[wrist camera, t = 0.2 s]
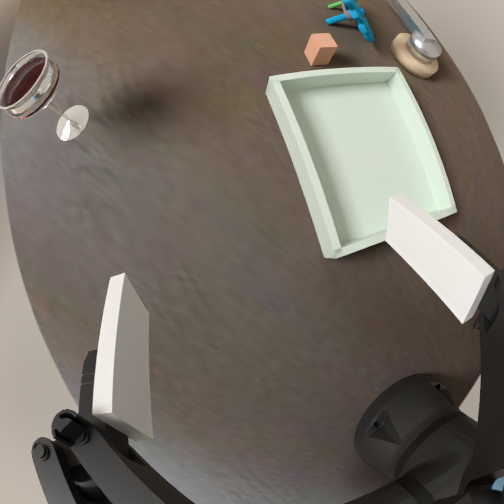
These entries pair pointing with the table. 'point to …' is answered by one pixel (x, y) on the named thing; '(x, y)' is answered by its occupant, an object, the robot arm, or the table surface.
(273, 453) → the table surface
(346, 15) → the gear
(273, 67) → the table surface
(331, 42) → the post
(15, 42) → the table surface
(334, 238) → the tray
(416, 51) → the crank
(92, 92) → the table surface
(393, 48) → the crank pedestal
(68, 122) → the wineglass
